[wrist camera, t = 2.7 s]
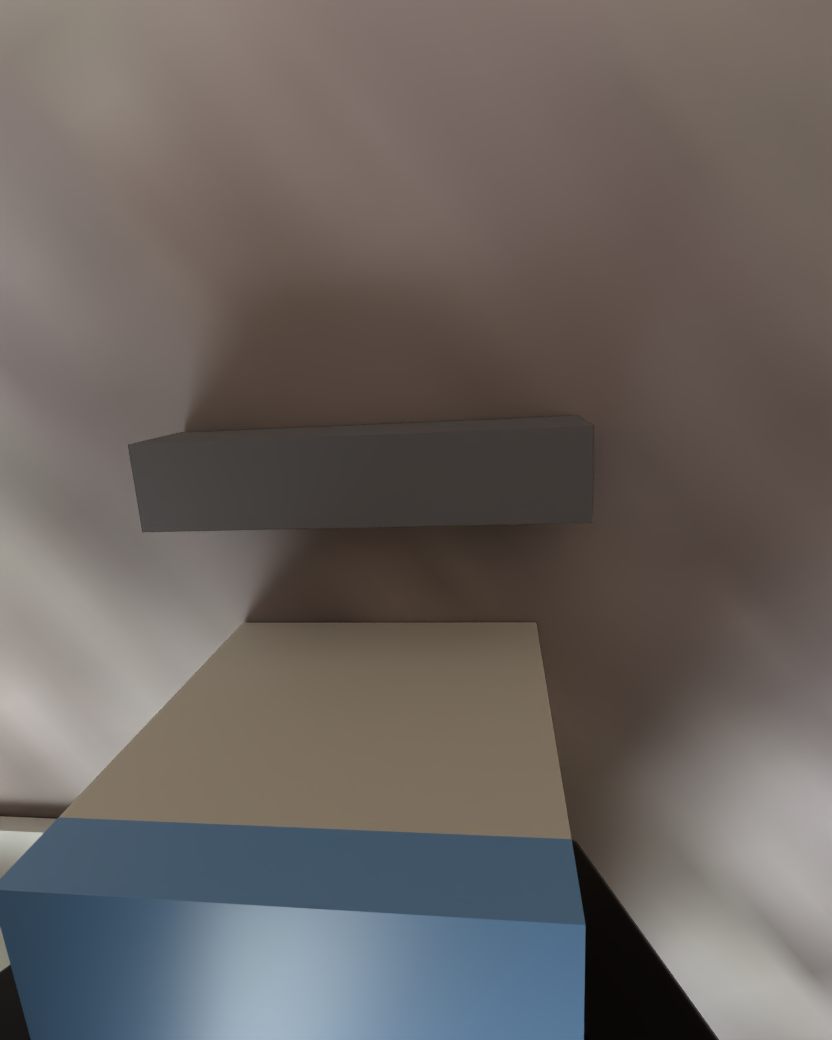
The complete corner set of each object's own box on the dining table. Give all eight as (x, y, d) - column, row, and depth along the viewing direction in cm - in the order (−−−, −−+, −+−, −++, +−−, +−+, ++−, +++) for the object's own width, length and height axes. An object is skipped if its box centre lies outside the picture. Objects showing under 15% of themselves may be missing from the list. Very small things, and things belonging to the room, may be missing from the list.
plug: (536, 622, 8) (584, 924, 4) (538, 1034, 10) (575, 1566, 5) (243, 623, 9) (-9, 888, 4) (294, 1012, 10) (152, 1485, 6)
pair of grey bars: (577, 415, 7) (594, 425, 6) (571, 1101, 10) (581, 1198, 9) (180, 432, 8) (127, 444, 7) (273, 1072, 11) (247, 1158, 10)
